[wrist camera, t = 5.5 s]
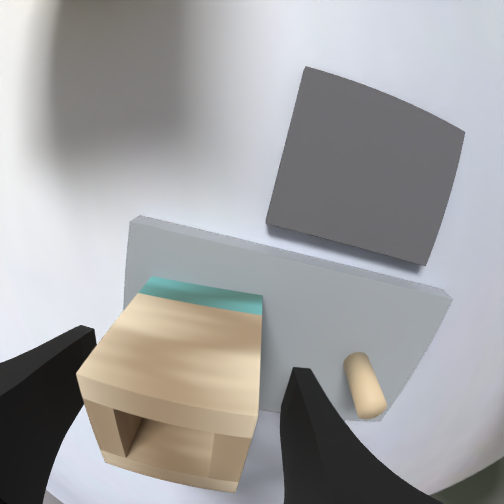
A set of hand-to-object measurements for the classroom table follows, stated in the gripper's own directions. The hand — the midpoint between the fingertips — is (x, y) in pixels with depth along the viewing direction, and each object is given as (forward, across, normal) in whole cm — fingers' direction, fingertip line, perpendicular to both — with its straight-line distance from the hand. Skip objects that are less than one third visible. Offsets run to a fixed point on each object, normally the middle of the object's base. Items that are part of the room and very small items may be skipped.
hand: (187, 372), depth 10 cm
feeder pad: (+4, -6, -8) cm, 10 cm away
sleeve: (+3, 0, 0) cm, 3 cm away
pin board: (+4, -4, 0) cm, 5 cm away
